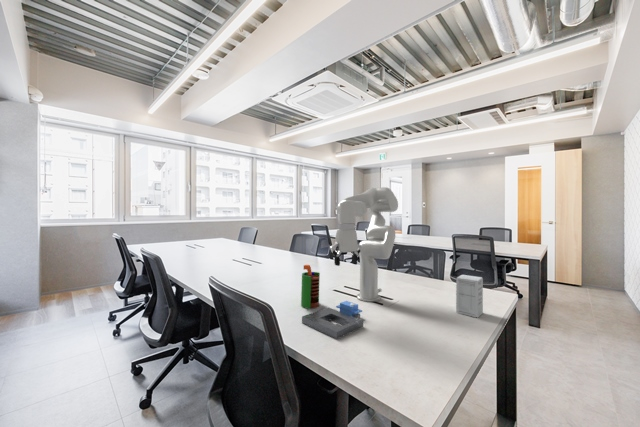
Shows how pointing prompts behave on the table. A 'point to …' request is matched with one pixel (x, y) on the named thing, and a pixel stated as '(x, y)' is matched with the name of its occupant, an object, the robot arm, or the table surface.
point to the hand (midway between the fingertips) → (345, 264)
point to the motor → (310, 288)
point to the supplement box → (469, 295)
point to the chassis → (334, 330)
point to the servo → (349, 309)
